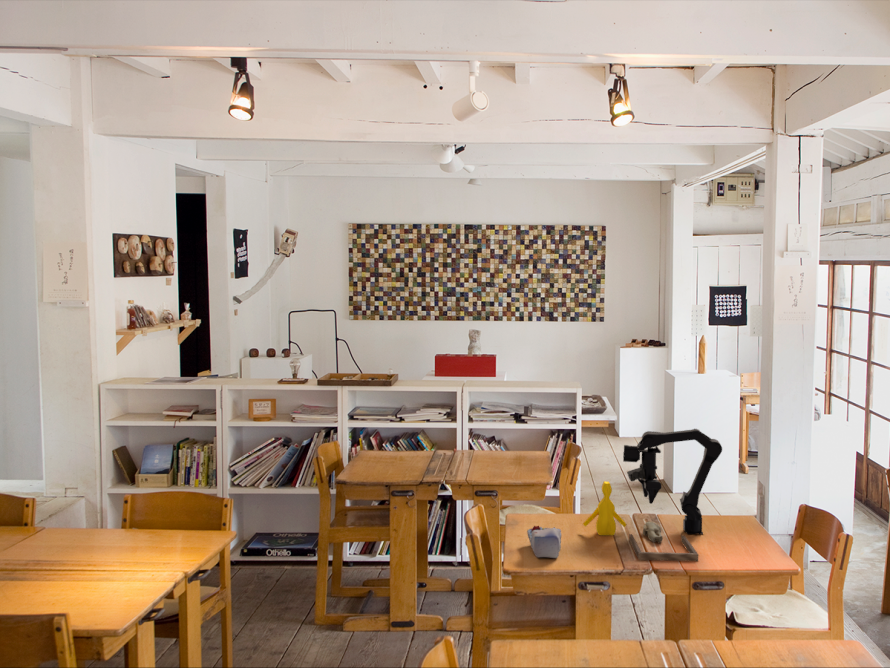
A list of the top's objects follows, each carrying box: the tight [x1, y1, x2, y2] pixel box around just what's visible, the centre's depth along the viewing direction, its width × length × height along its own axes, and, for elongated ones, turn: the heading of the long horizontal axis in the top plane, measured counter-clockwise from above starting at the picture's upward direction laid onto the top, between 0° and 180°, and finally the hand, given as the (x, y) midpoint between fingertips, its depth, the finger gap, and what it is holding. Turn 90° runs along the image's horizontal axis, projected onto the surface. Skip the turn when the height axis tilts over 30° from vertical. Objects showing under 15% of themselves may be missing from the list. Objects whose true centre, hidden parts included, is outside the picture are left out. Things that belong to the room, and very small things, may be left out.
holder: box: [628, 533, 699, 562], centre depth 284 cm, size 21×21×2 cm
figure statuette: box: [582, 481, 627, 536], centre depth 302 cm, size 18×8×22 cm, turn 88°
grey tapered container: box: [526, 525, 562, 559], centre depth 283 cm, size 13×11×20 cm
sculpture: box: [642, 521, 664, 543], centre depth 298 cm, size 7×5×15 cm
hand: (648, 500), depth 308 cm, fingers open, 9 cm apart
